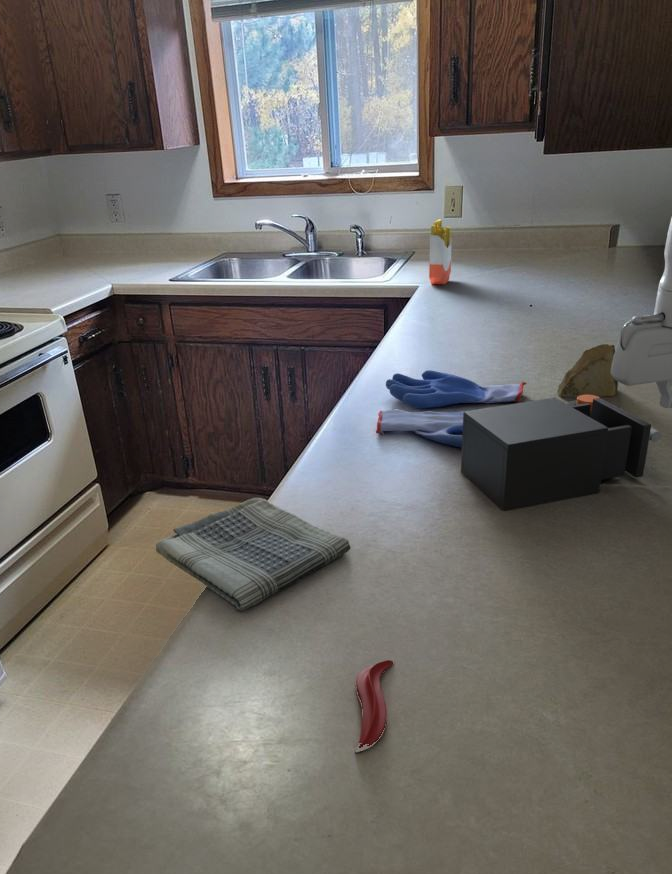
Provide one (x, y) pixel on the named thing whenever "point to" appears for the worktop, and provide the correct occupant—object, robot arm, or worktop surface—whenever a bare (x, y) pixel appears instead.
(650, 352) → the robot arm
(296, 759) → the worktop surface
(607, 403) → the drawer
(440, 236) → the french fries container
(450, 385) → the pair of gloves
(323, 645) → the worktop surface
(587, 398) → the button
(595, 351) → the rock
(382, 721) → the cayenne pepper
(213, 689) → the worktop surface
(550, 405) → the matte charcoal box
